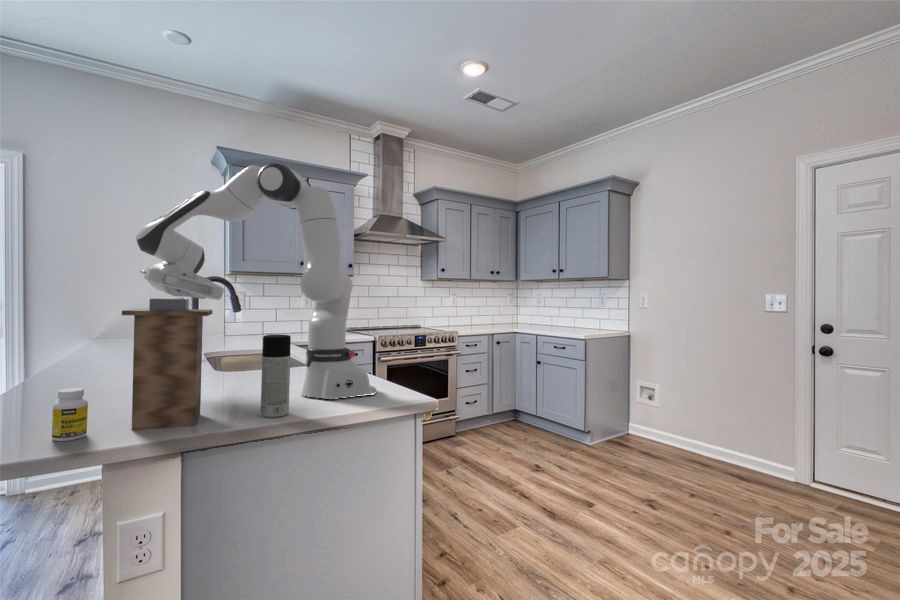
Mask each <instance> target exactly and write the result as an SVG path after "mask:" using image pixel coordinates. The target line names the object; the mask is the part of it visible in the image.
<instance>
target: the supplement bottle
mask: <svg viewBox="0 0 900 600" xmlns="http://www.w3.org/2000/svg"><path fill="white" fill-rule="evenodd" d="M84 395H85V389H84V388H82V387H70V388H69V387H68V388H62V389H59V390H58V391H57V399H59V400H57V401H55V402H54V403H53V405H52V422H51V424H52V427H51V440H52V441H55V442H68V441H74V440H75V441H76V440H78V439H82V438H84V437H85V436H86V435H87V431H88V413H89V412H88V408H89V403H88V402H89V401H88V400H87V399H85V398H83V397H84Z"/></svg>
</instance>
